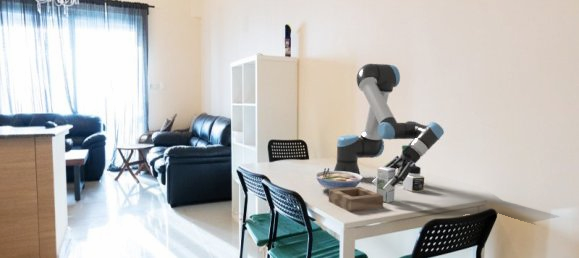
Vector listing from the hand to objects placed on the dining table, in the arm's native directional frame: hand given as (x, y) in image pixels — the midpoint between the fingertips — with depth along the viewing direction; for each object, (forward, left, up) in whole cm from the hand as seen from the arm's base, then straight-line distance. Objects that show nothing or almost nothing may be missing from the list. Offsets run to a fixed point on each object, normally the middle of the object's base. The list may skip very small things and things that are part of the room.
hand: (379, 187), depth 156 cm
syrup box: (+1, +3, -6) cm, 7 cm away
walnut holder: (+1, -13, -6) cm, 15 cm away
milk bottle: (-23, +36, -6) cm, 43 cm away
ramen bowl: (-21, -7, -6) cm, 23 cm away
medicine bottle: (-9, +29, -6) cm, 31 cm away
